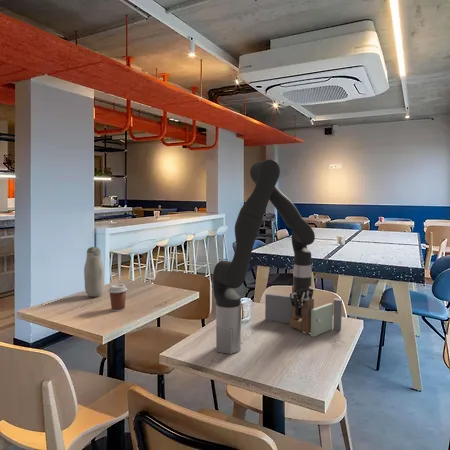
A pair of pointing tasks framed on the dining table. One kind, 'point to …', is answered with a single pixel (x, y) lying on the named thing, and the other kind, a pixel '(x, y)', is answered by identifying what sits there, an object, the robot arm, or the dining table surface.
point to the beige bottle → (94, 272)
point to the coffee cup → (117, 297)
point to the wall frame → (282, 309)
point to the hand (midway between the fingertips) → (301, 314)
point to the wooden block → (305, 322)
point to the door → (321, 319)
